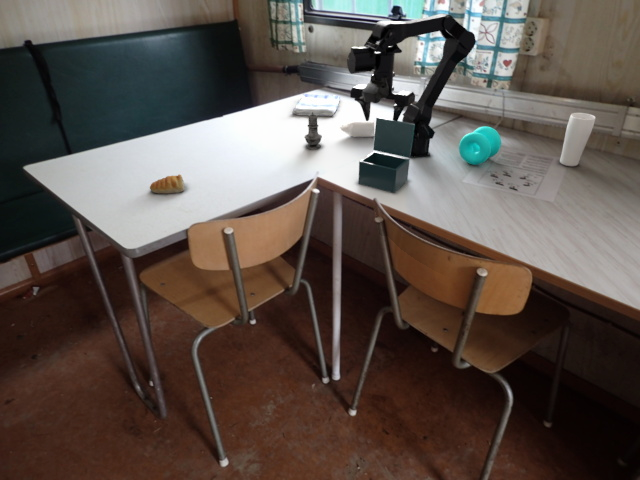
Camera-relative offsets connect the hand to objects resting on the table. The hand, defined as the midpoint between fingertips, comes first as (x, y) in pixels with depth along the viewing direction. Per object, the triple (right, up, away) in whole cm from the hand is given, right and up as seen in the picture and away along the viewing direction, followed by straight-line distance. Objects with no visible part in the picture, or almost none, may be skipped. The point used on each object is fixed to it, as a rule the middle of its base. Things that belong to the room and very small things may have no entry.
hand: (380, 123), depth 140 cm
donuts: (+31, -11, +5) cm, 33 cm away
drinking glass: (+59, -12, +2) cm, 60 cm away
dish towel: (-20, +20, +54) cm, 61 cm away
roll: (-5, +1, +25) cm, 25 cm away
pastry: (-61, -21, -9) cm, 65 cm away
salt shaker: (-21, -4, +17) cm, 27 cm away
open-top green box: (0, -19, -7) cm, 20 cm away
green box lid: (+2, -7, -11) cm, 13 cm away
